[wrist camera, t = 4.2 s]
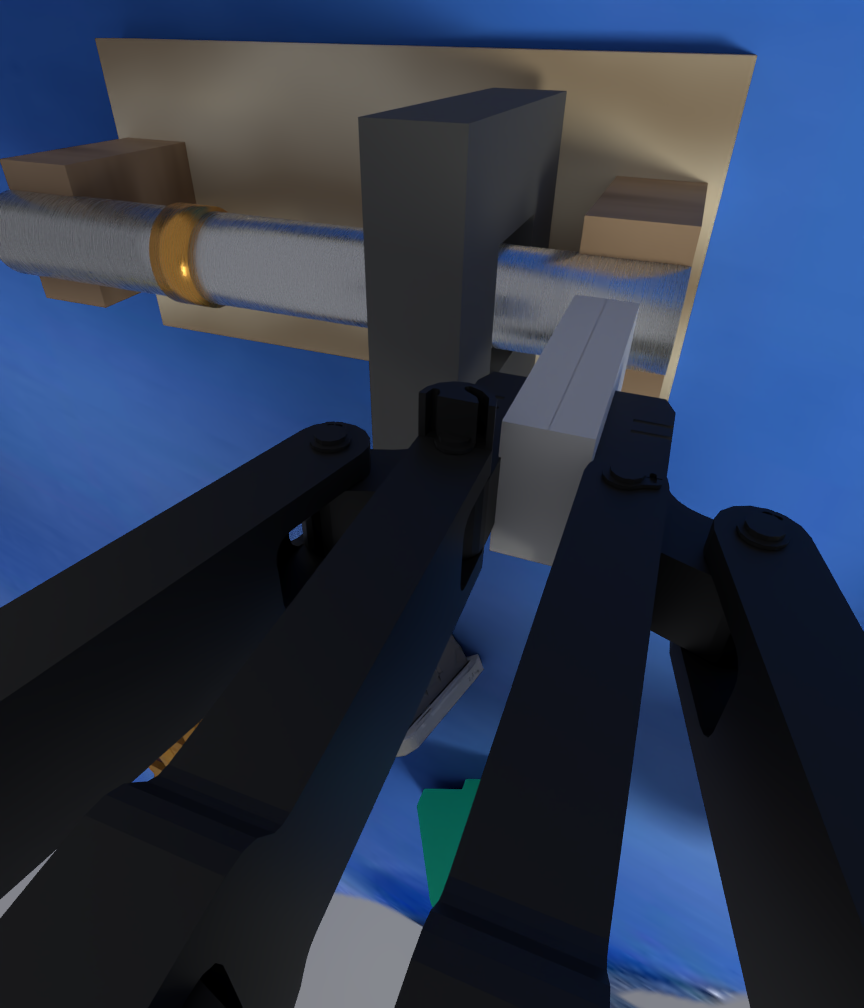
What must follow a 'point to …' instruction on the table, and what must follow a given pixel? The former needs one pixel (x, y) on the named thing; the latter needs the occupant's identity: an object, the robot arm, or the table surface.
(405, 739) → the electrical switch
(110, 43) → the pipe stand
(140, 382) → the table surface
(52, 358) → the table surface
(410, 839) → the table surface
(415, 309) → the collar
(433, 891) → the camera mount
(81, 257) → the pipe
